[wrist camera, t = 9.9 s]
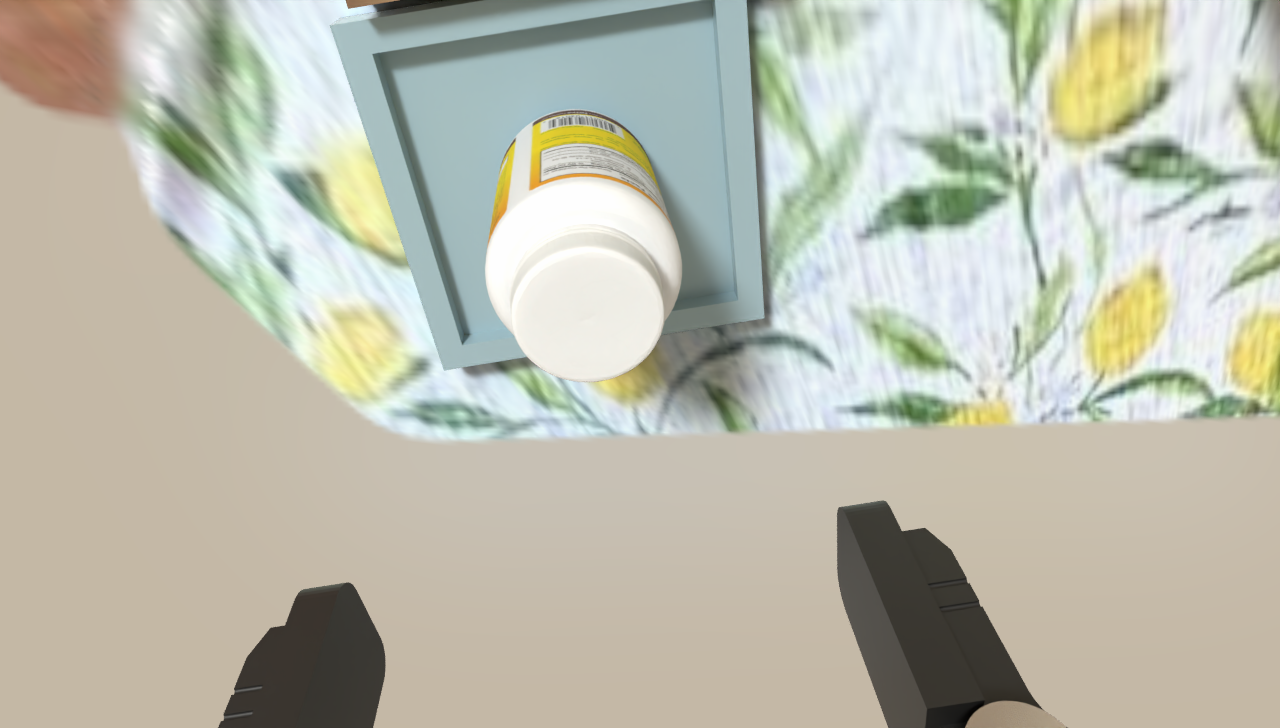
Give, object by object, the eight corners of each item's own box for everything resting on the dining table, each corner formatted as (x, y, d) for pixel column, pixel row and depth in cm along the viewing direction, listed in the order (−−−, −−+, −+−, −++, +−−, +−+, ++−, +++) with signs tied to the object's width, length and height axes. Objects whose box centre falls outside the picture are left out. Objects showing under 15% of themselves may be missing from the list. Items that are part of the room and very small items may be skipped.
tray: (735, -47, 25) (744, -43, 24) (757, 301, 33) (764, 318, 31) (340, 17, 25) (329, 25, 24) (448, 351, 33) (443, 370, 31)
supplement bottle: (558, 277, 30) (560, 441, 22) (467, 161, 28) (428, 296, 19) (681, 200, 29) (734, 342, 21) (598, 70, 26) (620, 172, 18)
